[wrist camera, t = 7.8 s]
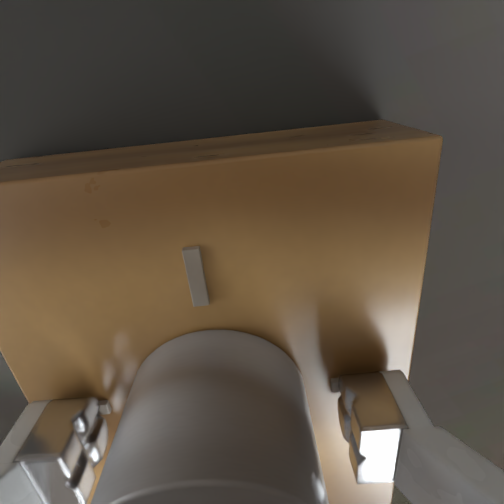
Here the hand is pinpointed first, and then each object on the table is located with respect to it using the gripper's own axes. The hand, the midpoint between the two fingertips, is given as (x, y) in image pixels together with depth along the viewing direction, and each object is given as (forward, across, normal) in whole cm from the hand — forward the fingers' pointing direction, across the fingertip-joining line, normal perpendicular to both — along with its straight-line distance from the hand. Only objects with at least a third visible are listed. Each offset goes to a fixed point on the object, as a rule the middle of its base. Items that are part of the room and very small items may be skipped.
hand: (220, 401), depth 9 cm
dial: (0, 0, 0) cm, 0 cm away
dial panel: (+3, 0, 0) cm, 3 cm away
